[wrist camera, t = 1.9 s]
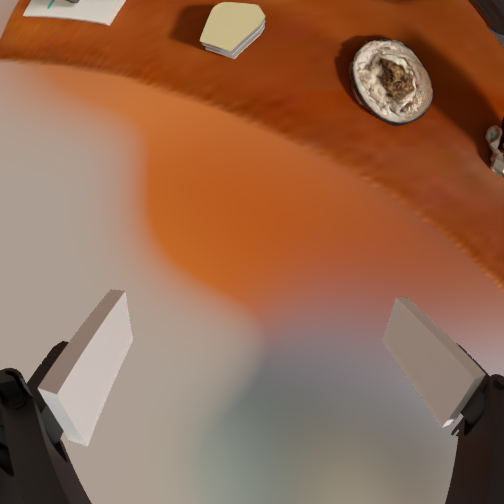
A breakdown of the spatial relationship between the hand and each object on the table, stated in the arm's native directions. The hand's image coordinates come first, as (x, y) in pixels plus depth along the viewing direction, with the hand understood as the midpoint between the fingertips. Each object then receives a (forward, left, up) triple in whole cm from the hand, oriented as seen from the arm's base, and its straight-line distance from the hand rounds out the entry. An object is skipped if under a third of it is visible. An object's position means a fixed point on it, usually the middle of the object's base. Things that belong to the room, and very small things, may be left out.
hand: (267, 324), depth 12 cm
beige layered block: (-17, -14, -26) cm, 34 cm away
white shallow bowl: (-23, +7, -26) cm, 36 cm away
